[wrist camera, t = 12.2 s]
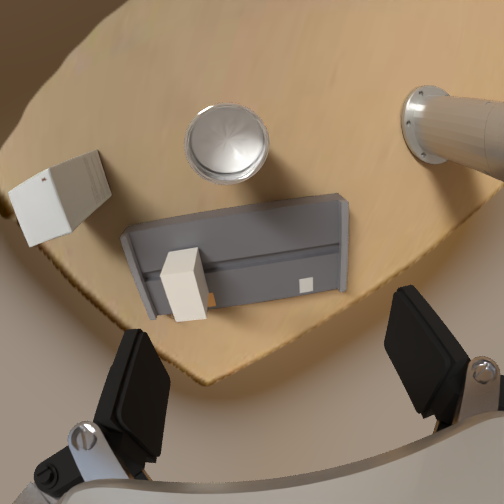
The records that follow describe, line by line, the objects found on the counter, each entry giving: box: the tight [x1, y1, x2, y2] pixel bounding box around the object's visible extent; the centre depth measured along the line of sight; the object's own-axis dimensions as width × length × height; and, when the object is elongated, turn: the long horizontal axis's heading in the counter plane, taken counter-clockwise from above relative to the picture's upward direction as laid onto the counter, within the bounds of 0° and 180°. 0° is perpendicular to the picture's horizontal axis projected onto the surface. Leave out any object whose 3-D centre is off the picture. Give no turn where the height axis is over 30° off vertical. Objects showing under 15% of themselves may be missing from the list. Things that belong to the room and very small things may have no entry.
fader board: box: [119, 193, 349, 320], centre depth 40 cm, size 30×14×4 cm, turn 97°
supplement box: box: [8, 149, 112, 247], centre depth 29 cm, size 7×7×13 cm
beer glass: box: [184, 102, 270, 185], centre depth 27 cm, size 7×7×15 cm
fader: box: [160, 247, 209, 322], centre depth 37 cm, size 4×7×7 cm, turn 7°
